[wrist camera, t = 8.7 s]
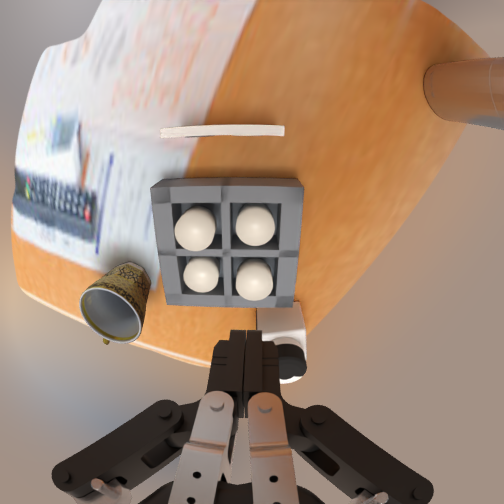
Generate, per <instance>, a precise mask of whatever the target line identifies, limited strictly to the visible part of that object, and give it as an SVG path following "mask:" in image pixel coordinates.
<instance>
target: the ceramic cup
mask: <svg viewBox="0 0 504 504" xmlns="http://www.w3.org/2000/svg"><path fill="white" fill-rule="evenodd" d="M150 286H151V281H150V279H149V277H148V275H147V273H146V272H145V270H144V268H142V267H140V266H138V265H136V264H134V263H132V262H128V263H125V264H122V265H119V266H117V267H115V268H114V269H113V270H111V271H110V272H109V273H107V274H106V275H105V276H103V277H102V278H101V279H99V280H98V281H96V282H95V283H93V284H92V285H91V286H89V287H88V288H87V289H86V290H85V291H84V292H83V293H82V295H81V297H80V301H79V306H80V311H81V314H82V316H83V318H84V320H85V321H86V323H87V324H88V325H89V327H90V328H91V329H92V330H93V331H94V332H96V333H97V334H98V335H100V336H101V337H103V342H104V343H105V344H106V345H108V344H109V342H110V341H112V342H116V343H130V342H133V341H135V340H136V339H137V338H138V337H139V336H140V334H141V331H142V327H143V323H144V318H145V311H146V303H147V298H148V294H149V290H150Z"/></svg>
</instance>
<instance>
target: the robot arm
mask: <svg viewBox="0 0 504 504" xmlns="http://www.w3.org/2000/svg"><path fill="white" fill-rule="evenodd" d="M424 91H425V95H426V98H427V101H428V103H429V105H430V107H431V108H432V110H433V111H434V112H435V113H436V114H437V115H438V116H439V117H441V118H442V119H445V120H448V121H455V122H462V123H468V124H474V125H480V126H486V127H491V128H496V129H501V130H504V57H498V58H483V59H473V60H464V61H457V62H449V63H443V64H437V65H434V66H431V67H430V68H429V69H428V70H427V72H426V74H425V77H424ZM244 409H245V418H248V424H249V445H250V464H251V481H252V482H251V483H246V484H240V485H234V484H230V481H231V468H232V461H233V455H234V448H235V442H236V436H237V430H238V420H239V418H243V417H244ZM291 449H294V450H295V451H296V452H297V453H298V454H299V455H300V456H301V457H302V458H303V459H304V460H305V461H307V462H308V463H309V464H310V465H311V466H312V467H313V468H315V469H316V470H317V471H318V472H319V473H320V474H321V475H323V476H324V477H325V478H326V479H327V480H329V481H330V482H331V483H332V484H334V485H335V486H336V487H337V488H339V489H340V490H341V491H342V492H344V493H345V494H346V495H347V496H349V497H350V498H351V499H352V500H351V501H350V503H349V504H428V503H429V502H430V500H431V499H432V496H433V493H434V489H433V485H432V483H431V482H430V481H429V480H427V479H426V478H424V477H422V476H421V475H419V474H418V473H416V472H415V471H413V470H412V469H410V468H408V467H407V466H406V465H404V464H403V463H401V462H400V461H398V460H397V459H396V458H394V457H393V456H391V455H390V454H388V453H387V452H386V451H384V450H383V449H381V448H380V447H379V446H377V445H376V444H374V443H373V442H372V441H370V440H369V439H368V438H367V437H365V436H364V435H362V434H361V433H360V432H359V431H357V430H356V429H355V428H353V427H352V426H351V425H349V424H348V423H347V422H345V421H344V420H343V419H342V418H341V417H339V416H338V415H337V414H336V413H334V412H333V411H332V410H331V409H329V408H327V407H326V406H322V405H314V406H310V407H308V408H306V409H303V408H299V407H295V406H292V405H290V404H288V403H287V402H286V401H285V400H284V399H283V398H282V396H281V392H280V375H279V359H278V348H277V346H276V345H275V343H274V342H273V341H262V330H247V340H246V330H231V331H230V339H229V340H219V342H218V343H217V344H216V346H215V347H214V350H213V356H212V362H211V367H210V374H209V380H208V385H207V390H206V393H205V395H204V396H203V397H202V398H201V399H200V400H199V401H197V402H194V403H191V404H185V405H180V406H179V405H178V404H177V403H175V402H174V401H171V400H160V401H158V402H156V403H154V404H153V405H151V406H150V407H148V408H147V409H145V410H144V411H143V412H141V413H139V414H138V415H136V416H135V417H134V418H132V419H131V420H129V421H128V422H126V423H124V424H123V425H121V426H120V427H118V428H117V429H115V430H114V431H112V432H111V433H109V434H108V435H106V436H105V437H103V438H101V439H99V440H98V441H96V442H95V443H93V444H91V445H90V446H88V447H87V448H85V449H83V450H81V451H80V452H78V453H76V454H74V455H73V456H71V457H69V458H68V459H66V460H64V461H62V462H60V463H59V464H57V465H56V466H55V467H54V468H53V470H52V480H53V482H54V484H55V485H56V487H57V488H59V489H60V490H62V491H64V492H66V493H68V494H69V495H71V496H72V497H73V498H74V500H75V501H76V503H77V504H130V502H131V499H132V496H131V492H130V490H131V489H133V488H134V487H136V486H137V485H139V484H140V483H142V482H143V481H145V480H146V479H148V478H149V477H151V476H152V475H153V474H155V473H156V472H158V471H159V470H160V469H162V468H163V467H164V466H166V465H167V464H169V463H170V462H171V461H173V460H174V459H175V458H176V457H178V456H179V455H181V457H180V461H179V465H178V468H177V472H176V476H175V479H174V481H172V482H169V483H167V484H165V485H163V486H161V487H160V488H159V489H157V490H156V491H155V492H154V493H152V494H151V495H149V496H148V497H147V498H146V499H144V500H142V501H141V502H140V503H138V504H325V503H324V502H323V501H321V500H320V499H319V498H318V497H317V496H316V495H315V494H313V493H312V492H310V491H309V490H307V489H305V488H303V487H300V486H298V485H296V478H295V471H294V465H293V458H292V451H291Z"/></svg>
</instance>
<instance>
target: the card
mask: <svg viewBox="0 0 504 504" xmlns="http://www.w3.org/2000/svg"><path fill="white" fill-rule="evenodd" d="M215 135H233V136H263V135H273V136H284V126H280V125H201V126H184V127H172V128H162V129H160V138H172V137H205V136H215Z"/></svg>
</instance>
